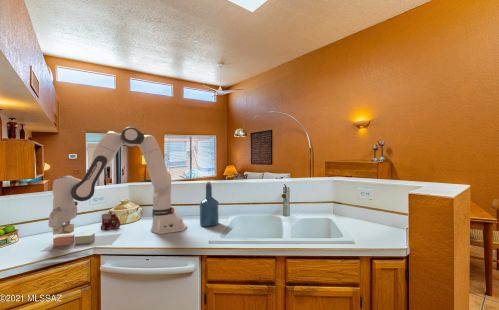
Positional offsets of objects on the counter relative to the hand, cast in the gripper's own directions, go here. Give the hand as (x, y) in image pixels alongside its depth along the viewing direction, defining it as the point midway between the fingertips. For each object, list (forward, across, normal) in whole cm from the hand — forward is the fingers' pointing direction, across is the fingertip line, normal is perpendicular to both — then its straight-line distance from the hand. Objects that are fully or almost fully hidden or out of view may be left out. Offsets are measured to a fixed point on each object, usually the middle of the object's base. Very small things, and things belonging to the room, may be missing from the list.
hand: (63, 230), depth 122 cm
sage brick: (+7, 0, -10) cm, 12 cm away
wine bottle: (+8, +16, -80) cm, 82 cm away
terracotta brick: (+7, 0, 0) cm, 7 cm away
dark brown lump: (+9, +24, -15) cm, 30 cm away
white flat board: (+8, 0, -10) cm, 13 cm away
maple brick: (+1, 0, 0) cm, 1 cm away
